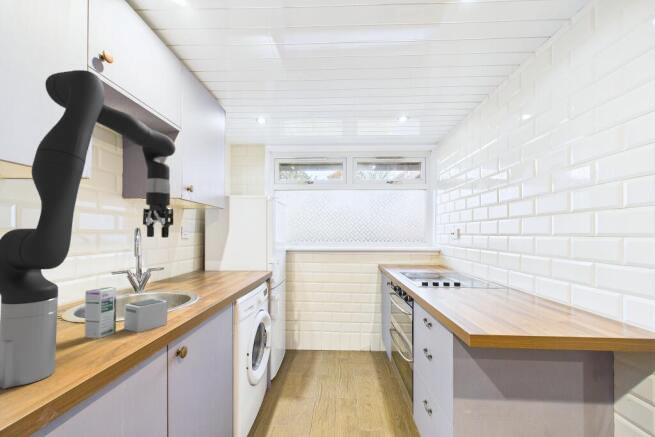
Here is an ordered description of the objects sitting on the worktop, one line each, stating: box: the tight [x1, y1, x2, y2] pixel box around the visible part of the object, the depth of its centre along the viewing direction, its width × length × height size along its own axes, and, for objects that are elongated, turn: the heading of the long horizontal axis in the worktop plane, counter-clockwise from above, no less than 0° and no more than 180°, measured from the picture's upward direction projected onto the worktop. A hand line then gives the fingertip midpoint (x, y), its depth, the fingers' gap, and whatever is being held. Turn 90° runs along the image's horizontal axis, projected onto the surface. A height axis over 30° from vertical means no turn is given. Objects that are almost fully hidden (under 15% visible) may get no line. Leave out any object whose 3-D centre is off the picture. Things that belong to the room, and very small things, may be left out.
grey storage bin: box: [123, 298, 168, 334], centre depth 104 cm, size 10×8×8 cm
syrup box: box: [84, 286, 117, 339], centre depth 96 cm, size 6×6×14 cm
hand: (157, 237), depth 109 cm, fingers open, 8 cm apart
